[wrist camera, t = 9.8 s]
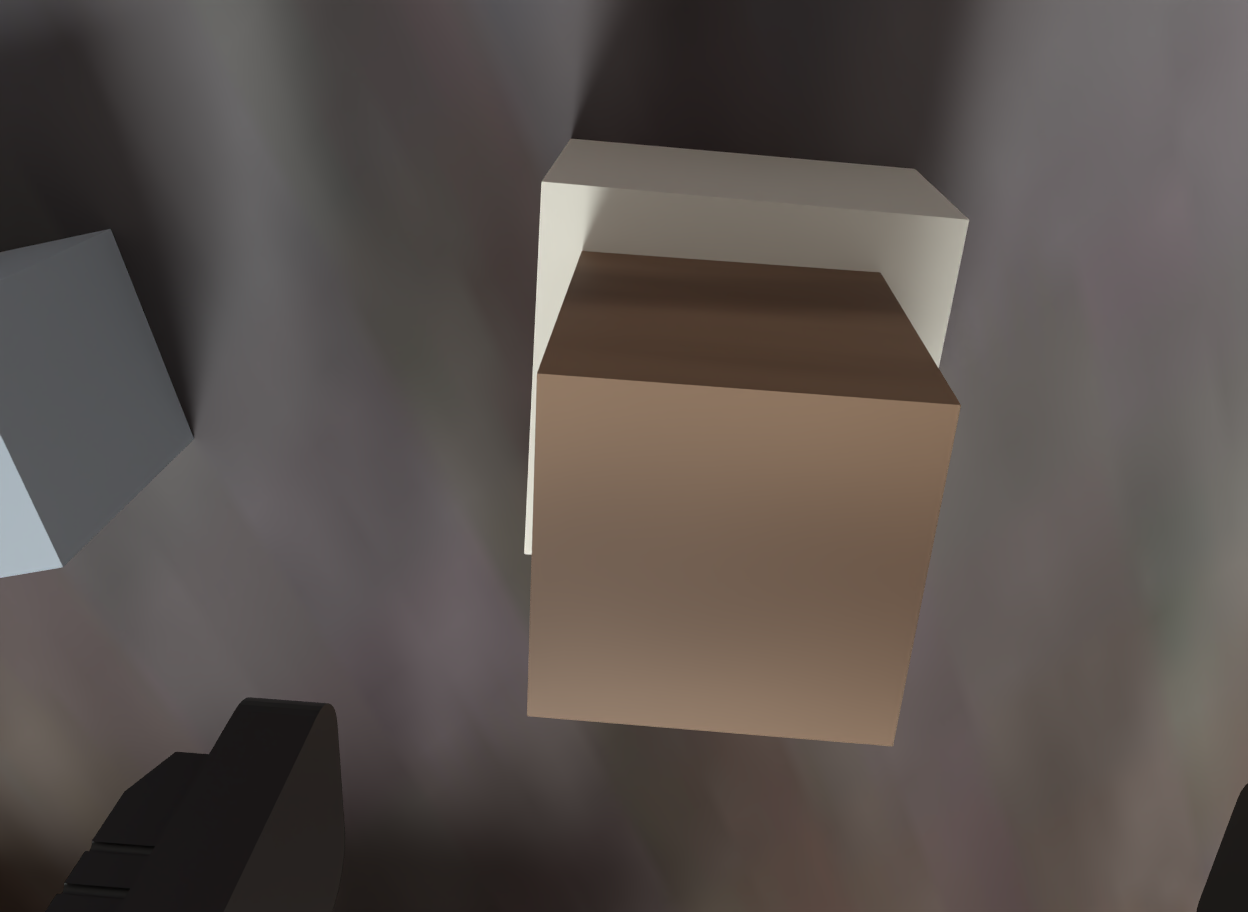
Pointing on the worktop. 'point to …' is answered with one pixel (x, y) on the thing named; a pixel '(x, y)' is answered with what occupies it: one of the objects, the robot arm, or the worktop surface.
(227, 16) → the worktop surface
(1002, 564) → the worktop surface
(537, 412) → the walnut block
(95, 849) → the robot arm
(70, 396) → the slate-grey block
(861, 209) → the base block
